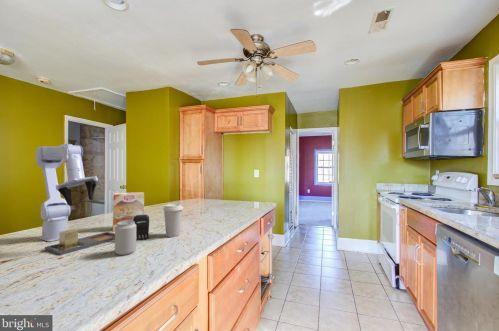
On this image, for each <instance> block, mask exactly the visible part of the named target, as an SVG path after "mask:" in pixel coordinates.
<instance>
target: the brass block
mask: <svg viewBox="0 0 499 331" xmlns="http://www.w3.org/2000/svg"><path fill="white" fill-rule="evenodd" d="M78 236H79V232H78V230H76V229H67V230H65V231H62V232H60V233H59V240H58V241H59V242H58V244H59V247H58V248H59V249H58V250H61V251H63V250H67V249H71V248H74V247H78V246H79V244H78V239H79V237H78Z"/></svg>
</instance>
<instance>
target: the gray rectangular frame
mask: <svg viewBox="0 0 499 331" xmlns="http://www.w3.org/2000/svg"><path fill="white" fill-rule="evenodd" d="M112 241H115V232H109V231H105V232H101V233H97V234H92V235H89V236H85V237H80V238H78V247H74V248H71V249H67V250H60V249H58V248H59V243H55V244H52V245H47V246H44V250H45V251H47V252H49V253H53V254H55V255H58V256H63V255H66V254H70V253H73V252H77V251H79V250H84V249H87V248H90V247H91V248H92V247H94V246H98V245H102V244H105V243H108V242H112Z"/></svg>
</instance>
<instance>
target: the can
mask: <svg viewBox="0 0 499 331" xmlns="http://www.w3.org/2000/svg"><path fill="white" fill-rule="evenodd" d="M114 234H115V240H114V253H115V254H117V256H128V255H131V254H133V253H135V251H136V250H137V240H136V224H135V222H134V221H123V222H119V223H117V226H116V227H115V231H114Z"/></svg>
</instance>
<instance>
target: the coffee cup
mask: <svg viewBox="0 0 499 331" xmlns="http://www.w3.org/2000/svg"><path fill="white" fill-rule="evenodd" d="M162 210H163V214H164V225H165V226H164V228H165V236H166V238H167V237H168V238H176V237H180V235H181V227H182V226H181V225H182V216H183V210H184V206H182V204H180V203H169V204H164V207H163V208H162Z"/></svg>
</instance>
